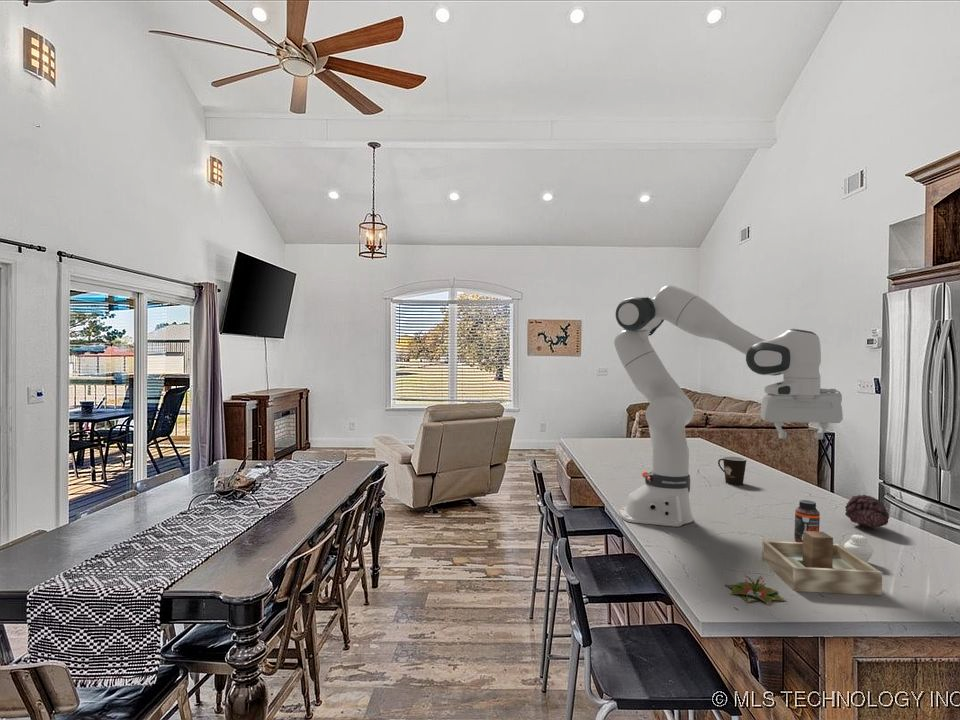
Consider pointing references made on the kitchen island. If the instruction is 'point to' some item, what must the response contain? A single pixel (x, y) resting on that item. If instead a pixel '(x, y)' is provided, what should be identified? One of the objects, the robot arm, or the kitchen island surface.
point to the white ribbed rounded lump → (859, 547)
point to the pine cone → (866, 511)
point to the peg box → (822, 570)
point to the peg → (817, 550)
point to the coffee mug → (733, 469)
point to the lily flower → (747, 586)
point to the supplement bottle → (806, 519)
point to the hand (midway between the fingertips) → (800, 438)
